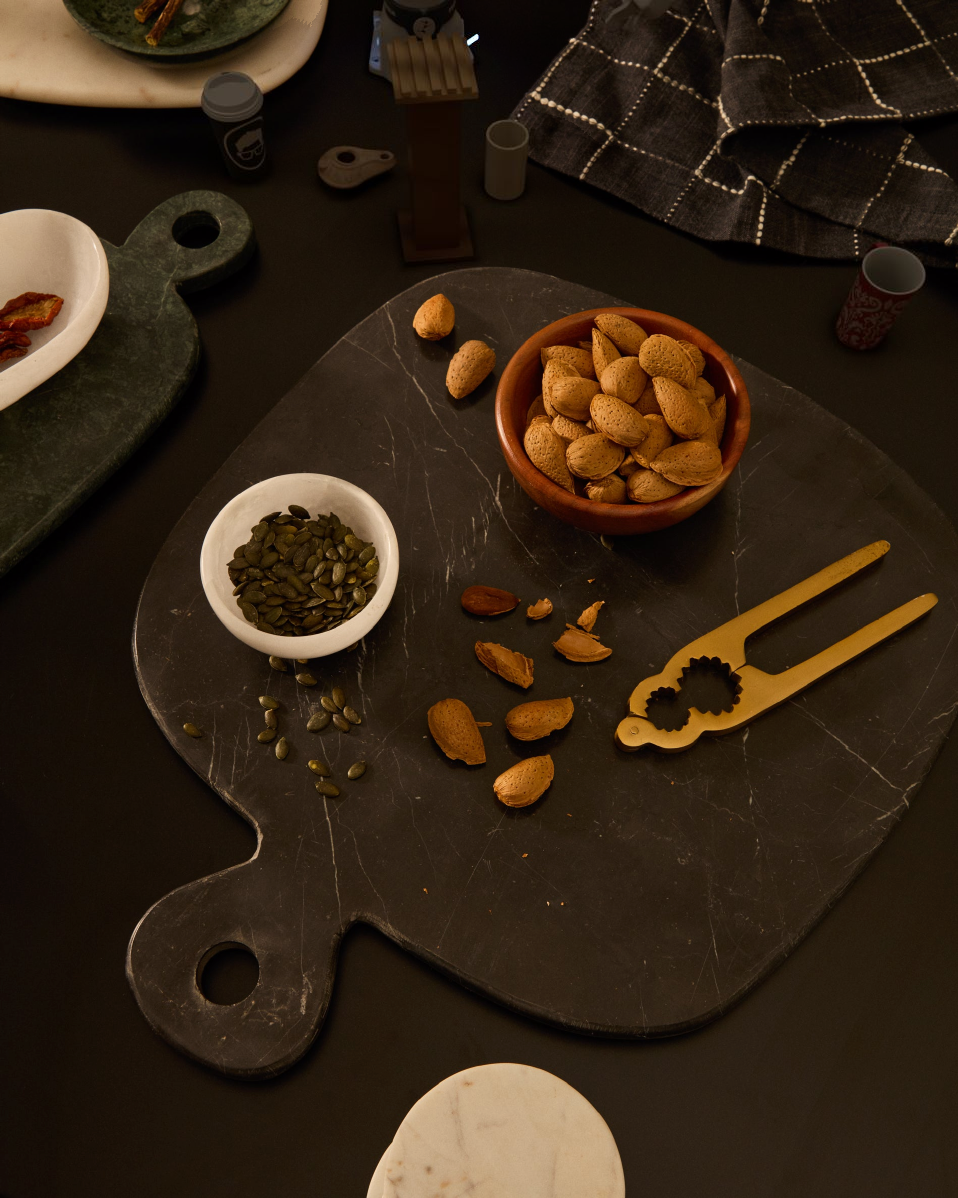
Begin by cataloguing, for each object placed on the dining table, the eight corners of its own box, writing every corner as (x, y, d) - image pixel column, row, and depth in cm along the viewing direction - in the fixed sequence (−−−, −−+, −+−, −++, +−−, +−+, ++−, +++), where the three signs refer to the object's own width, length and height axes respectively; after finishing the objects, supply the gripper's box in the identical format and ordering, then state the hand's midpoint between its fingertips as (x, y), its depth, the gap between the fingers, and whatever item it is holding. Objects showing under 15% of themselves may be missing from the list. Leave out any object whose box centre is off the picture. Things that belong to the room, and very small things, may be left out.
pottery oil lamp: (402, 189, 161) (387, 169, 154) (336, 209, 164) (318, 192, 157) (393, 138, 162) (378, 117, 155) (327, 160, 165) (309, 140, 158)
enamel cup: (481, 172, 164) (483, 121, 155) (520, 169, 164) (524, 117, 155) (487, 201, 161) (489, 151, 152) (527, 198, 162) (532, 147, 152)
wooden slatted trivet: (386, 49, 133) (385, 37, 131) (466, 43, 134) (466, 31, 132) (395, 104, 128) (395, 92, 127) (478, 98, 129) (478, 86, 128)
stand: (397, 215, 159) (386, 46, 132) (463, 209, 160) (466, 40, 133) (405, 266, 155) (395, 101, 128) (473, 259, 156) (478, 94, 129)
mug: (890, 357, 149) (929, 295, 137) (831, 353, 149) (865, 291, 137) (882, 294, 155) (918, 229, 142) (825, 290, 155) (857, 224, 143)
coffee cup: (281, 151, 165) (266, 69, 151) (270, 192, 161) (254, 112, 147) (225, 146, 165) (205, 64, 151) (213, 186, 161) (191, 106, 147)
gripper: (611, -139, 135) (543, -48, 142) (688, -55, 127) (612, 36, 134) (634, -111, 140) (567, -25, 147) (709, -30, 132) (635, 57, 139)
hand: (589, 5), depth 140 cm, fingers open, 8 cm apart
